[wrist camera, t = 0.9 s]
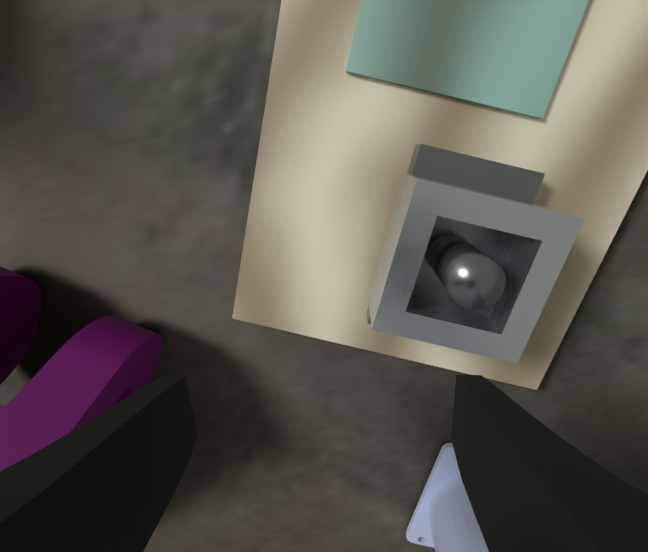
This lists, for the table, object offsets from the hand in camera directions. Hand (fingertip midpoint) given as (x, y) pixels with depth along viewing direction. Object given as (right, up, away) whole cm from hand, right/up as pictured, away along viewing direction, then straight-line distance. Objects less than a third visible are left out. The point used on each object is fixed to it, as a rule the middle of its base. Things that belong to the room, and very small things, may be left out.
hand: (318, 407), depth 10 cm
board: (+5, +9, +7) cm, 12 cm away
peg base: (+6, +5, +8) cm, 11 cm away
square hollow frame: (+5, +4, +6) cm, 9 cm away
